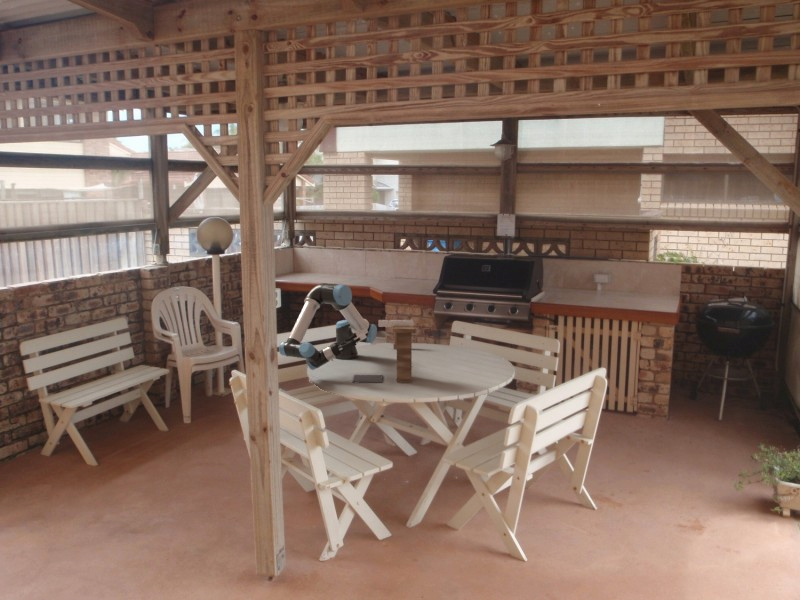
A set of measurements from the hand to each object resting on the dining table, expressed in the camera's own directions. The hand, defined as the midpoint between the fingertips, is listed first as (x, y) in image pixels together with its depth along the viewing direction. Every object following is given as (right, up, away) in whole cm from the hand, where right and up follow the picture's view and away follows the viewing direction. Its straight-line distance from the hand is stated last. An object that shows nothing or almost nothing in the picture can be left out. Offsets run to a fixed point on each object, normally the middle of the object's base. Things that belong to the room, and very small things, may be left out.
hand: (366, 332), depth 377 cm
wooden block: (+20, -15, +77) cm, 81 cm away
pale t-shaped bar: (+16, +4, -1) cm, 17 cm away
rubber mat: (+1, -26, +4) cm, 26 cm away
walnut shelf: (+21, -26, +4) cm, 33 cm away
